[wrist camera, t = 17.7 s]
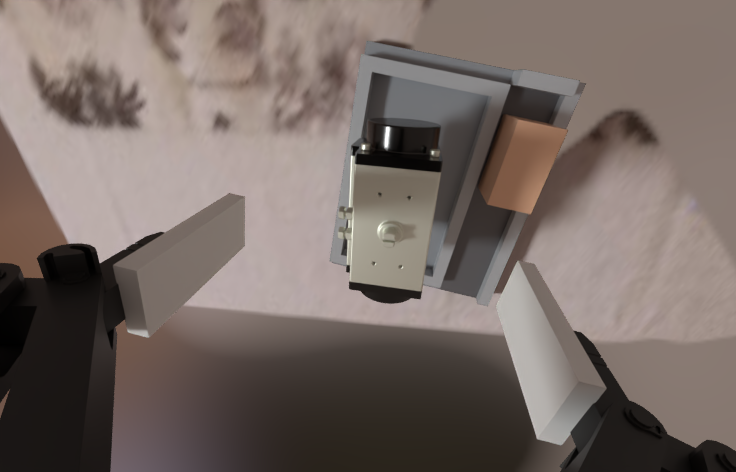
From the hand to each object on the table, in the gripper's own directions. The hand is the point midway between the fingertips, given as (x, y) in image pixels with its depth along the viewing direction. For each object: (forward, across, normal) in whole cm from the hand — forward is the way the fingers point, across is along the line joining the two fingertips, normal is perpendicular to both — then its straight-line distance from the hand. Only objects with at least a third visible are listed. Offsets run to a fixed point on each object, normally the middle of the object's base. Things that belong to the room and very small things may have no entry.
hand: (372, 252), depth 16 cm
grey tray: (+16, +4, -1) cm, 16 cm away
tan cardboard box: (+15, +9, +3) cm, 17 cm away
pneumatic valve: (+15, 0, -1) cm, 15 cm away
